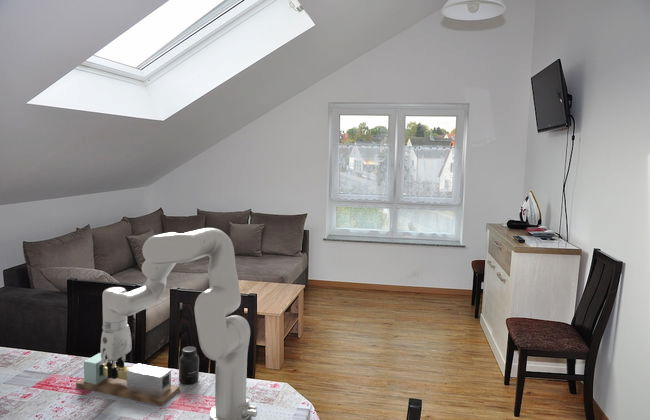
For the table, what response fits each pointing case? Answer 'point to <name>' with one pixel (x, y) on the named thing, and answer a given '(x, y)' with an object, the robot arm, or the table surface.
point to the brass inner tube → (120, 371)
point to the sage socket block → (93, 370)
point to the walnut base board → (127, 391)
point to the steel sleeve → (149, 379)
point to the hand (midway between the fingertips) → (116, 374)
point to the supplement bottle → (188, 366)
